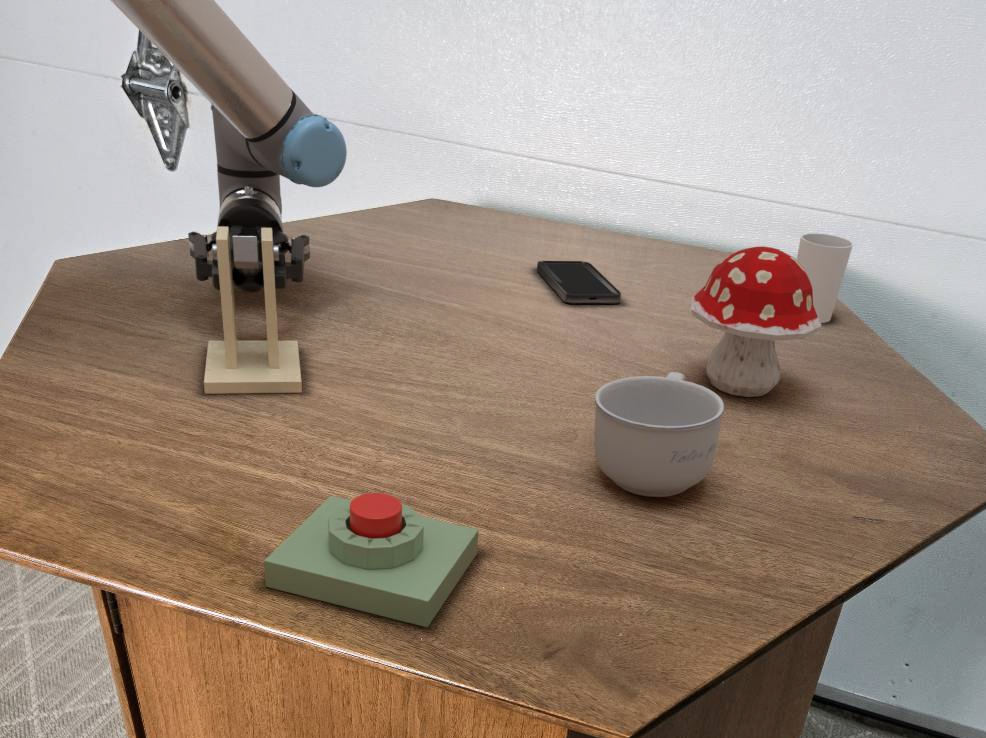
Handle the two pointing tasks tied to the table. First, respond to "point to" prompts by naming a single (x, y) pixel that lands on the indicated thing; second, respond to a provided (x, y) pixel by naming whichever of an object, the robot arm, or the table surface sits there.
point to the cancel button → (375, 515)
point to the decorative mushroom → (754, 317)
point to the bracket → (250, 361)
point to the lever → (247, 264)
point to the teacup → (656, 433)
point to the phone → (578, 282)
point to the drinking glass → (824, 268)
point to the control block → (373, 563)
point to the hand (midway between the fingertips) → (249, 292)
